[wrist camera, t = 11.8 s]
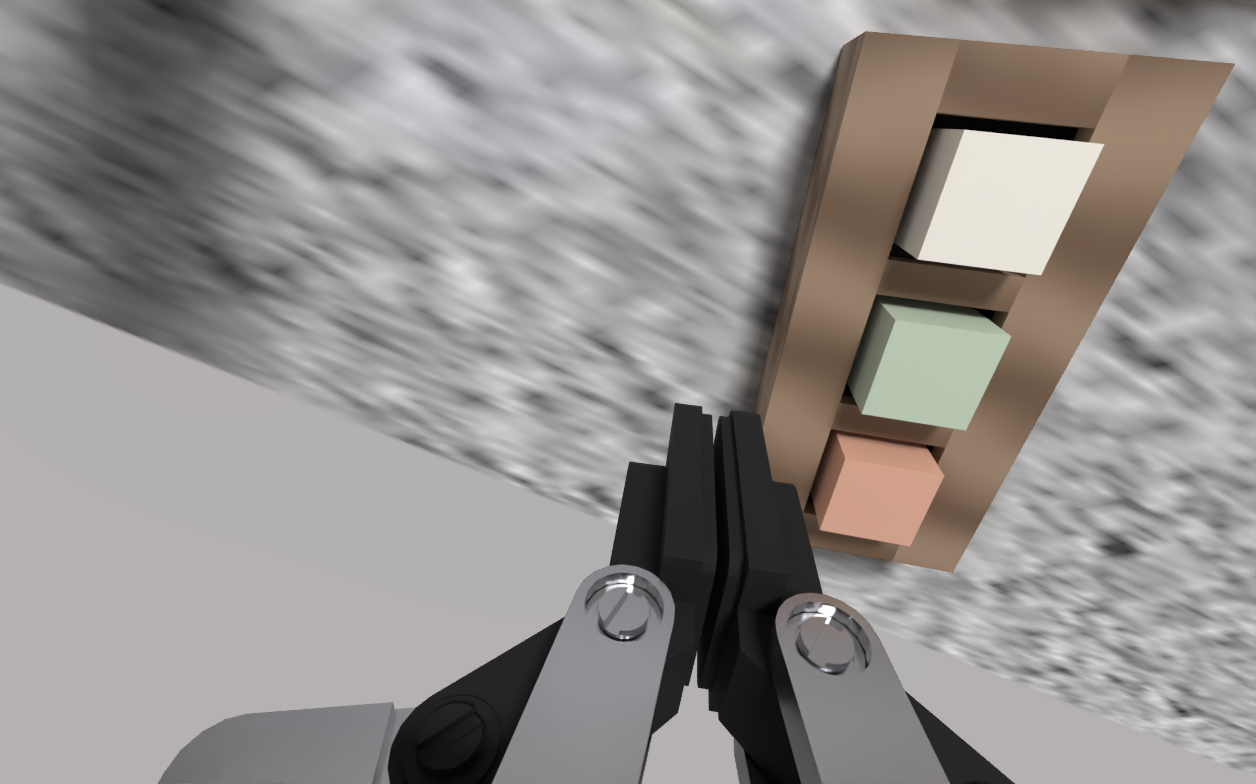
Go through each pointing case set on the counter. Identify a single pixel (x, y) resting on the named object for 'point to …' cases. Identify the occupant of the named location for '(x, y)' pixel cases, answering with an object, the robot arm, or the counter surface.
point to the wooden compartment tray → (1024, 303)
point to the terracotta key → (874, 487)
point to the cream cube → (993, 198)
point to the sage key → (925, 361)
